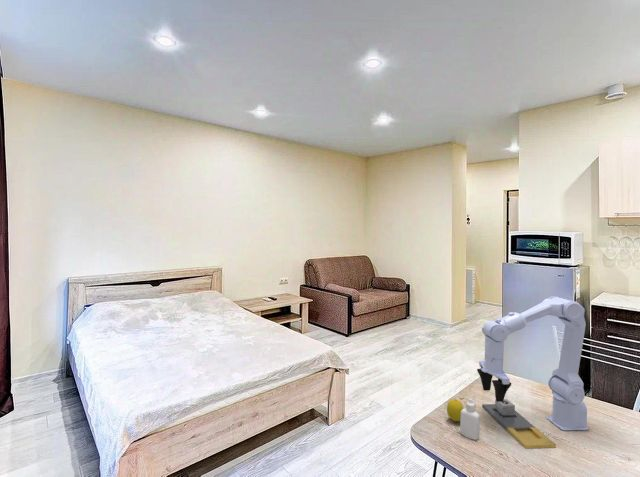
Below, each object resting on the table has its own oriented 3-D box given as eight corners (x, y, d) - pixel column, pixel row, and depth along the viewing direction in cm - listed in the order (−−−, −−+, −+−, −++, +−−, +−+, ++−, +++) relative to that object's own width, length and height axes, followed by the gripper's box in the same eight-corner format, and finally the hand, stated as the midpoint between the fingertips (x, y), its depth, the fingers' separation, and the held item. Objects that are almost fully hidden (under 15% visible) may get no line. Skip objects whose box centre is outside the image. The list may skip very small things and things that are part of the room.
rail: (507, 406, 128) (507, 403, 128) (555, 447, 104) (555, 444, 104) (482, 407, 127) (482, 404, 127) (525, 448, 103) (525, 445, 103)
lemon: (465, 427, 114) (465, 404, 113) (448, 425, 115) (448, 402, 114) (461, 418, 119) (462, 396, 119) (445, 416, 120) (445, 394, 120)
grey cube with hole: (506, 412, 124) (507, 398, 123) (514, 419, 119) (514, 405, 119) (494, 412, 123) (495, 398, 123) (502, 419, 119) (502, 405, 119)
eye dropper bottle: (468, 429, 112) (469, 394, 112) (481, 439, 107) (482, 402, 107) (458, 431, 111) (459, 396, 111) (470, 442, 106) (471, 404, 105)
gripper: (471, 349, 122) (470, 385, 123) (495, 365, 108) (494, 406, 108) (490, 349, 123) (489, 385, 123) (516, 365, 108) (514, 406, 109)
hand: (492, 395), depth 116 cm, fingers open, 7 cm apart
